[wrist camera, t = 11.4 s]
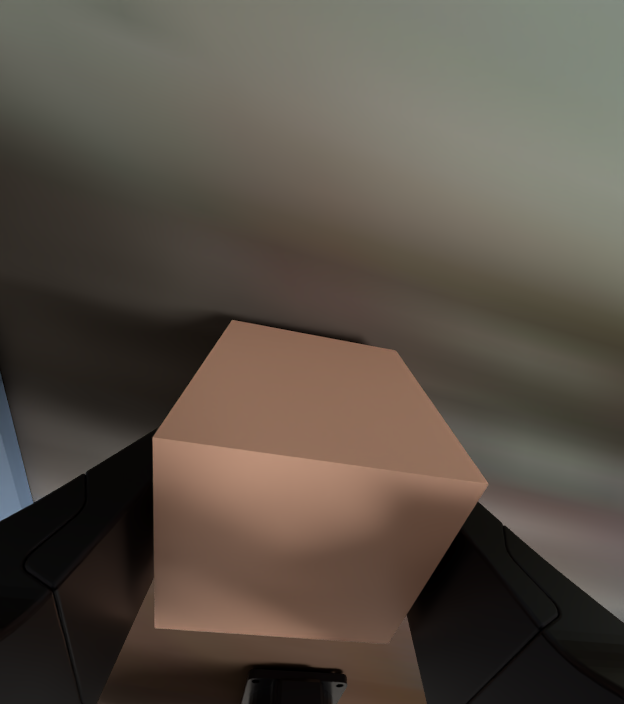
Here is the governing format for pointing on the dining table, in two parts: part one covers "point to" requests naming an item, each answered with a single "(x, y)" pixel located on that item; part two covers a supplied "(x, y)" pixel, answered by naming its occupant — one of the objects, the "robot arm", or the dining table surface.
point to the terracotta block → (302, 490)
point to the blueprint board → (11, 465)
